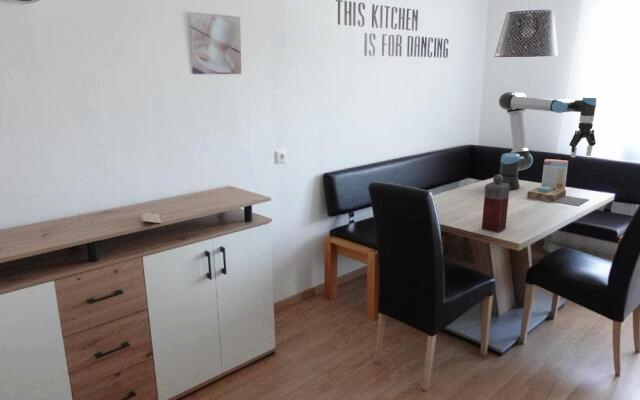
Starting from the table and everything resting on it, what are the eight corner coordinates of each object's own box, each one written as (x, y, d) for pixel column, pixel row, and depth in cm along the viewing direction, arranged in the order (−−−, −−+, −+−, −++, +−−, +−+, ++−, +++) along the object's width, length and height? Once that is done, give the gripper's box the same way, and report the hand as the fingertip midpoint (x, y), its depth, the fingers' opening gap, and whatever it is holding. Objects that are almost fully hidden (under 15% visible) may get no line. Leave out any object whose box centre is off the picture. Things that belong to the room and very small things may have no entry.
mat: (553, 201, 292) (553, 201, 291) (565, 196, 305) (565, 195, 305) (578, 206, 282) (578, 205, 282) (589, 199, 296) (589, 199, 296)
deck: (527, 197, 302) (528, 191, 301) (539, 192, 316) (540, 186, 315) (553, 201, 292) (554, 195, 291) (565, 196, 305) (566, 190, 304)
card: (537, 190, 302) (538, 187, 302) (543, 188, 309) (543, 185, 308) (547, 192, 298) (548, 189, 298) (553, 190, 305) (553, 186, 304)
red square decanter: (507, 227, 244) (512, 173, 237) (498, 232, 236) (503, 177, 229) (490, 224, 250) (495, 171, 243) (481, 229, 242) (485, 174, 235)
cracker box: (564, 191, 318) (568, 160, 312) (563, 193, 313) (567, 161, 307) (541, 188, 325) (545, 158, 320) (540, 190, 320) (544, 159, 315)
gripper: (576, 123, 286) (571, 158, 292) (605, 122, 296) (599, 156, 301) (566, 122, 293) (561, 156, 298) (594, 121, 302) (589, 154, 308)
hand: (580, 156), depth 300 cm, fingers open, 13 cm apart
